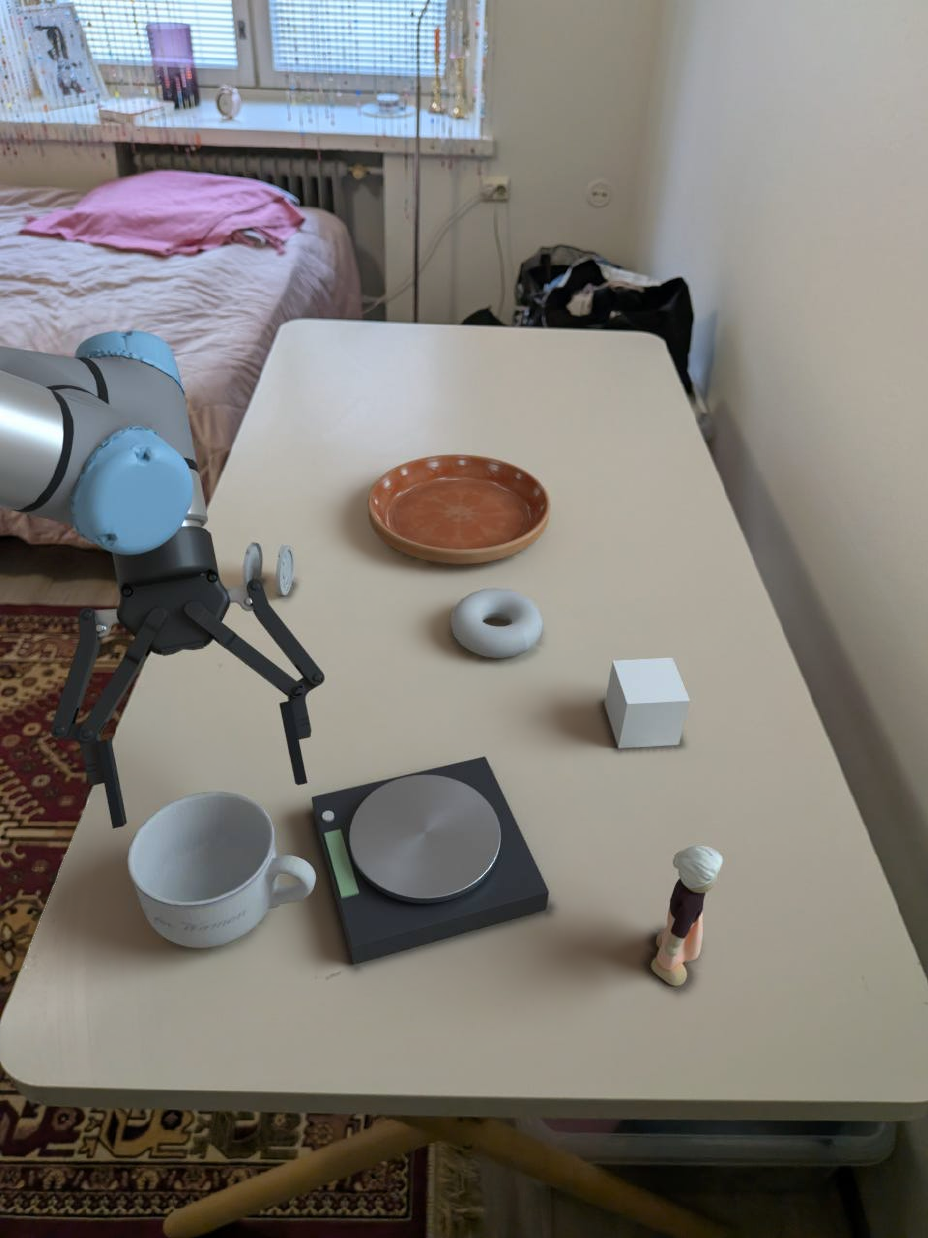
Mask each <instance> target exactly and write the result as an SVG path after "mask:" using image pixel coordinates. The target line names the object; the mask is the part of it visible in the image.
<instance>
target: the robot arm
mask: <svg viewBox="0 0 928 1238" xmlns="http://www.w3.org/2000/svg"><path fill="white" fill-rule="evenodd" d="M74 355H75V356H67V355H62V354H55V353H50V352H49V353H48V352H42V351H35V350H28V349H23V348H16V347H9V346H3V345H0V508H1V509H4V510H10V511H14V512H18V513H21V514H25V515H28V516H33V517H37V518H41V519H46V520H50V521H53V522H59V523H62V524H65V525H69V526H71V527H72V528H74V530H75V531H76V533H78V534H79V536H80V537H82V538H84V539H85V540H87V542H89V543H94V544H96V545H97V546H98V547H100V548H102V549H103V550H105V551H108V552H111V554H112V559H113V560H112V561H113V565H114V570H115V576H116V581H117V585H118V590H119V603H118V606H117V608H106V609H93V608H92V607H89V606H86V607H83V608H81V609H80V610H79V612H78V615H77V617H78V629H79V630H78V631H79V632H78V633H79V639H78V642H77V644H76V645H77V646H76V649H75V652H74V655H73V658H72V661H71V664H70V668H69V672H68V674H67V677H66V680H65V683H64V686H63V689H62V692H61V696H60V698H59V702H58V705H57V708H56V711H55V714H54V718H53V721H52V723H51V726H50V735H51V736H52V738H54V739H58V740H66V741H74V742H76V743H78V744H79V746H80V748H81V753H82V758H83V762H84V763H83V764H84V768H85V769H84V770H85V774H86V780H87V781H88V783H89V785H90V786H92V787H94V786H98V785H102V784H104V785H103V786H104V790H105V795H106V800H107V806H108V811H109V817H110V821H111V827H112V830H114V829H118V828H122V827H125V826H126V824H128V821H127V814H126V809H125V804H124V800H123V794H122V789H121V783H120V778H119V772H118V767H117V762H116V757H115V751H114V746H113V741H112V740H113V739H112V738H105V739H101V734H102V732H104V729H105V728H106V726H107V724H108V723H109V721H110V719H111V718H112V716H113V714H114V713H115V711H116V709H117V708H118V706H119V704H120V703H121V701H122V699H124V697H125V695H126V693H127V691H128V689H129V688H130V687H131V685H132V683H133V682H134V680H135V678H136V677H137V675H138V673H139V672H140V670H141V668H142V667H143V666H144V664H145V663H146V661H147V660H148V657H149V656H150V654H151V653H152V654H156V655H159V656H163V657H166V656H173V655H175V654H177V653H179V652H181V651H198V650H203V649H204V648H206V647H207V646H208V645H211V643H212V642H213V641H214V642H216V643H217V644H218V645H219V646H221V647H222V648H224V649H225V650H227V651H228V652H230V653H231V654H232V655H233V656H235V658H237V659H239V660H240V661H241V662H242V663H244V664H245V665H246V666H247V667H249V668H250V669H251V670H252V671H254V672H255V673H256V674H258V675H259V676H260V677H261V678H263V679H265V680H266V681H267V682H268V683H269V684H271V685H272V686H273V687H275V688H276V689H277V690H278V691H280V692H281V693H282V694H283V695H285V696H286V697H287V701H282V702H279V705H278V706H279V710H280V714H281V718H282V725H283V729H284V735H285V740H286V745H287V749H288V755H289V759H290V760H289V761H290V764H291V765H290V766H291V769H292V775H293V779H294V784H295V785H297V786H302V785H305V784H308V779H307V775H306V774H307V773H306V768H305V764H304V758H303V754H302V749H301V744H300V741H301V740H304V739H308V738H309V739H310V738H311V737H312V736H311V735H312V725H311V720H310V716H309V711H308V706H307V701H306V698H307V695H308V694H309V693H310V692H311V691H313V690H314V689H316V688H318V687H319V686H320V685H322V684H324V682H325V679H326V677H325V674H324V672H323V671H322V670H321V668H320V667H319V666H318V664H317V663H316V662H315V660H314V659H313V658H312V657H311V655H310V654H309V653H308V652H307V650H306V648H304V647H303V645H302V644H301V643H300V642H299V640H298V639H297V637H296V636H295V635H294V634H293V633H292V631H291V630H290V629H289V627H288V626H287V625H286V624H285V623H284V621H283V620H282V619H281V617H280V616H279V615H278V614H277V612H276V611H275V610H274V608H273V607H272V606H271V604H270V603H269V600H268V596H267V593H266V591H265V588H264V584H263V582H262V581H261V579H260V580H259V579H251V580H250V581H249V582H248V583H247V584H245V585H244V584H241V585H238V586H234V587H231V588H228V589H227V587H225V585H224V584H223V583H222V580H221V577H220V571H219V567H218V561H217V557H216V552H215V546H214V542H213V537H212V532H210V531H208V529H207V528H205V527H204V526H206V524H207V523H208V522H209V517H208V511H207V506H206V502H205V497H204V492H203V491H204V490H203V485H202V480H201V475H200V473H199V469H198V463H197V457H196V451H195V446H194V441H193V440H194V439H193V435H192V430H191V425H190V424H191V423H190V419H189V413H188V408H187V401H186V399H187V398H186V394H187V393H186V391H185V387H184V386H183V383H182V378H181V376H180V371H179V368H178V364H177V360H176V358H175V355H174V352H173V350H172V348H171V346H170V345H169V344H168V342H166V341H165V340H164V339H163V338H161V337H160V336H158V335H155V334H153V333H150V332H146V331H142V330H134V329H131V330H128V331H119V330H110V331H105V332H101V333H97V334H94V335H92V336H90V337H88V338H86V339H84V340H82V342H81V343H80V344H79V345H78V347H77V348H76V350H75V353H74ZM233 603H236V604H238V605H239V606H240V607H241V609H242V610H243V611H245V612H253V614H254V616H255V617H256V619H257V621H258V622H259V623H260V625H261V626H262V627H263V629H264V630H265V631H266V632H267V633H268V635H269V637H270V638H272V640H273V641H274V642H275V644H276V645H277V647H279V649H280V650H281V651H282V652H283V654H284V655H285V656H286V658H287V659H288V660H289V661H290V663H291V664H292V665H293V666H294V668H295V670H297V672H298V673H299V674H300V675H301V676H302V677H300V678H299V679H298V680H296V679H295V678H294V677H292V676H291V675H290V674H288V673H287V672H286V671H285V670H284V669H282V668H280V666H278V665H277V664H275V663H274V662H273V661H272V660H271V659H269V658H267V657H266V656H265V655H264V654H262V652H261V651H258V649H256V648H255V647H254V646H253V645H251V644H250V643H248V642H247V641H245V639H243V638H242V637H241V636H240V635H238V634H237V633H236V632H235V631H234V630H233V629H231V628H230V627H229V626H227V625H226V624H225V623H223V621H224V620H225V619H224V618H225V617H226V614H227V613H228V610H229V608H230V606H231V604H233ZM116 624H120V625H121V626H122V628H124V629H125V630H126V631H127V632H128V633H129V634H130V635H132V636H133V637H134V638H133V640H132V642H131V643H130V645H129V646H128V648H127V650H126V651H125V653H124V656H123V657H122V660H121V661H120V663H119V664H118V666H117V667H116V670H115V671H114V673H113V674H112V676H111V678H110V679H109V680H108V682H107V683H106V685H105V687H104V688H103V690H102V692H101V693H100V696H99V697H98V698H97V701H96V702H95V703H94V705H93V707H92V709H91V710H90V712H89V713H88V715H87V717H86V718H85V719H84V722H83V723H82V724H80V723H77V721H78V718H79V715H80V711H81V708H82V705H83V702H84V699H85V696H86V693H87V690H88V687H89V683H90V679H91V677H92V673H93V670H94V667H95V664H96V660H97V657H98V654H99V651H100V647H101V642H102V641H101V640H102V639H103V638H106V637H108V636H109V635H110V634H111V630H112V627H113V626H114V625H116Z"/></svg>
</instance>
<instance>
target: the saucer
mask: <svg viewBox="0 0 928 1238" xmlns="http://www.w3.org/2000/svg"><path fill="white" fill-rule="evenodd" d="M550 513H551V499H550V495H549V493H548V491H547V489H546V488H545V485H543V484H542V483H541V481H539V479H537V478H536V477H535V476H534V475H533V474H531V473H529V472H528V471H526V470H525V469H523V468H522V467H519V466H517V465H515V464H513V463H509V462H508V461H504V460H500V459H496V458H493V457H489V456H482V455H474V454H458V453H457V454H439V455H432V456H431V455H430V456H425V457H421V458H417V459H414V460H410V461H407V462H405V463H402V464H399V465H398V466H395V467H393V468H391V469H390V470H388V471H387V472H385V473H384V474H382V476H380V477H379V478H378V479H377V480H376V481H375V483H374V484H372V487H371V489H370V491H369V493H368V497H367V514H368V519H369V523H370V526H371V527H372V530H373V531H374V532H375V533H376V535H377V536H378V537H379V538H380V539H381V540H382V541H383V542H384V543H385V544H387V545H388V546H390V547H391V548H394V549H395V550H397V551H399V552H401V553H403V554H406V555H408V556H411V557H414V558H417V559H420V560H425V561H429V562H434V563H435V562H436V563H443V564H454V565H457V564H459V565H461V564H463V565H464V564H466V565H467V564H478V563H486V562H487V563H488V562H491V561H496V560H500V559H504V558H508V557H510V556H512V555H516V554H517V553H520V552H522V551H523V550H525V549H527V548H529V547H530V546H531V545H533V544H534V543H535V542H536V541H537V540H539V539H540V537H542V535H543V534H544V533H545V531H546V529H547V526H548V523H549V520H550V519H549V518H550Z"/></svg>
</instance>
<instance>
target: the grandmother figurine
mask: <svg viewBox="0 0 928 1238" xmlns="http://www.w3.org/2000/svg"><path fill="white" fill-rule="evenodd" d="M723 862H724V859H723V857H722V855H721V854H720V853H719V852H718V851H717V850H715V849H714V848H712V847H710V846H705V845H693V846H689V847H687V848H684V849H683V850H679V851H678V852H676V853H675V854H674V857H673V858H672V866H673V867H674V868H675V869H677V870H678V877H679V878H678V880H677V881H676V883H675V884H674V886H673V889H672V892H671V896H670V899H669V906H668V911H667V918H666V919H667V922H666V923H667V925H666V927H665V929H664V931H661V932H659V933H658V934H657V936H656V941H655V944H656V946H657V948H658V952H657V955H656V956H655V957H654V958H653V959H652V961H651V963H650V968H651V971H653V973H655V974H656V975H657V976H658V977H660V978H661V979H662V980H663V981H665V983H667V984H669V985H671V986H674V987H678V986H679V987H680V986H681V985H683V984H684V983H685V981H686V980H687V978H688V977H687V976H688V973H687V968H686V967H685V966H684V962H686V963H687V962H694V961H696V959H698V958H699V956H700V954H701V950H702V949H701V948H702V943H703V931H704V930H703V929H704V928H703V911H704V901H705V896H706V893H708V892H709V891H711V890H713V889H714V887H716V885H717V882H718V879H719V872H720V869H721V868H722V865H723V864H724V863H723Z"/></svg>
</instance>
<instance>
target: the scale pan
mask: <svg viewBox="0 0 928 1238" xmlns="http://www.w3.org/2000/svg"><path fill="white" fill-rule="evenodd" d="M349 840H350V851H351V855H352V859H353V861H354V864H355V866H356V867H357V869H358V871H359V872H360V874H361V875H362V876H363V878H364V879H365V880H366V881H367V882H368V883H369V884H370V885H372V886H373V887H374V888H376V889H377V890H378V891H380V892H382V893H384V894H386V895H387V896H390V897H392V898H395V899H398V900H402V901H406V902H412V903H438V902H443V901H448V900H451V899H454V898H457V897H459V896H461V895H463V894H465V893H467V892H469V891H470V890H472V889H474V888H475V887H476V886H477V885H479V884H480V883H481V882H482V881H483V880H484V879H485V878H486V877H487V876H488V875H489V873H490V872H491V870H492V869H493V867H494V865H495V863H496V861H497V858H498V854H499V850H500V842H501V830H500V825H499V821H498V818H497V816H496V814H495V812H494V810H493V808H492V807H491V805H490V804H489V803H488V801H487V800H486V799H485V798H484V797H483V796H482V795H481V794H480V793H478V792H477V791H476V790H475V789H473V788H471V787H470V786H468V785H466V784H464V783H462V782H460V781H457V780H454V779H452V778H448V777H443V776H437V775H414V776H408V777H403V778H400V779H397V780H394V781H391V782H389V783H387V784H385V785H383V786H381V787H379V788H378V789H377V790H375V791H374V792H372V793H371V794H370V795H369V796H368V797H367V798H366V799H365V800H364V801H363V802H362V804H361V805H360V806H359V808H358V809H357V811H356V813H355V815H354V817H353V819H352V823H351V826H350V834H349Z"/></svg>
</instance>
